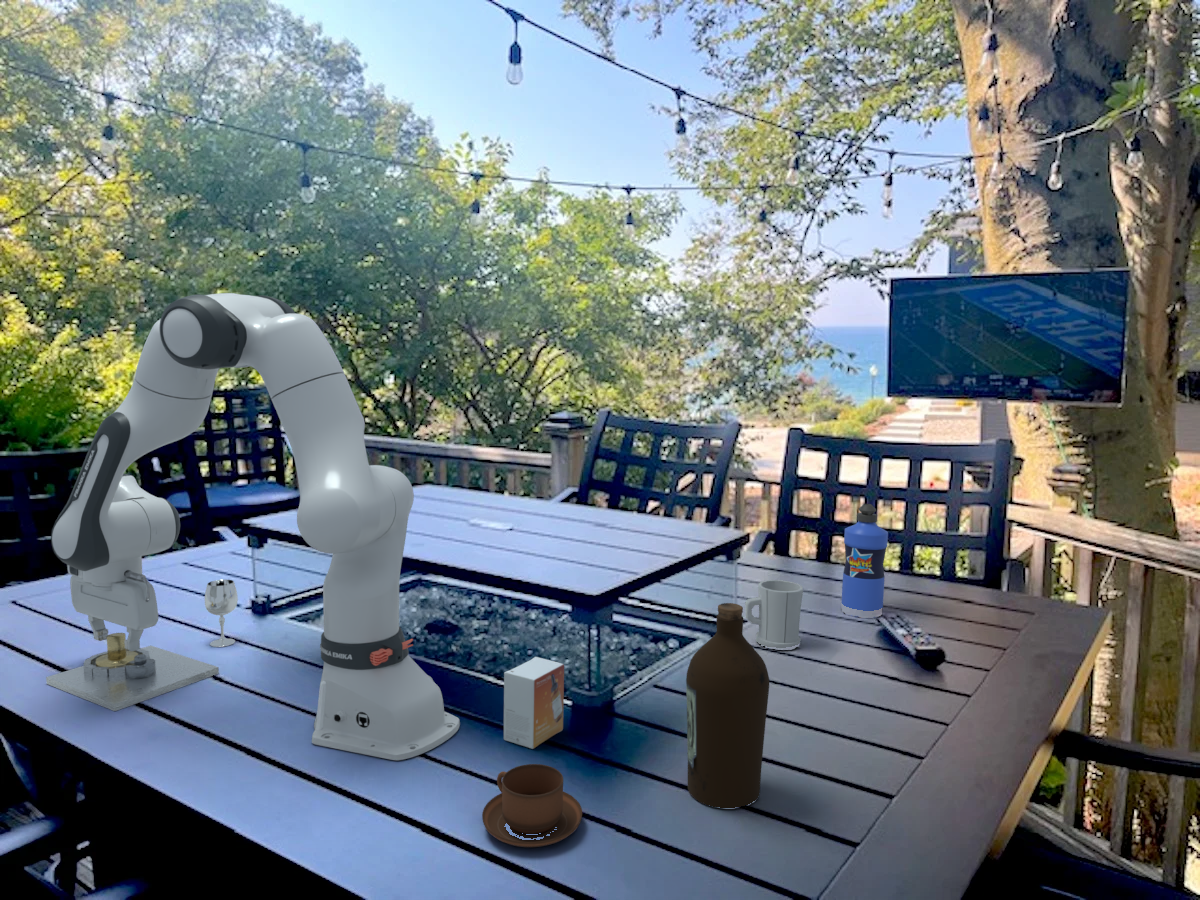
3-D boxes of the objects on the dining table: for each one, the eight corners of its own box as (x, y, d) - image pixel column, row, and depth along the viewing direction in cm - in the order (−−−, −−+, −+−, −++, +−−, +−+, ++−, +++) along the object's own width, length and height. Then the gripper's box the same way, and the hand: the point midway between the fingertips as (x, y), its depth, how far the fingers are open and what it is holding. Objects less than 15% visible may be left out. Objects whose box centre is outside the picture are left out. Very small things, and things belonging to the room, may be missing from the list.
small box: (532, 750, 116) (533, 680, 114) (502, 740, 119) (502, 671, 117) (564, 729, 122) (565, 663, 121) (534, 720, 125) (535, 655, 124)
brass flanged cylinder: (146, 663, 142) (145, 633, 141) (110, 676, 136) (109, 644, 136) (123, 657, 145) (122, 627, 144) (87, 668, 139) (86, 637, 138)
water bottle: (848, 603, 190) (853, 499, 187) (888, 611, 185) (894, 504, 182) (834, 613, 183) (840, 504, 180) (875, 621, 177) (882, 509, 174)
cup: (777, 656, 155) (780, 596, 153) (740, 643, 161) (742, 585, 160) (809, 645, 161) (812, 587, 160) (772, 633, 168) (774, 577, 167)
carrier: (218, 673, 141) (218, 649, 141) (114, 711, 126) (113, 684, 125) (150, 651, 151) (149, 628, 150) (46, 683, 135) (45, 658, 135)
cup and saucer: (463, 843, 93) (463, 793, 93) (510, 792, 105) (511, 747, 104) (557, 868, 89) (558, 816, 89) (596, 812, 100) (597, 765, 100)
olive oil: (763, 774, 110) (771, 597, 107) (765, 817, 100) (774, 622, 97) (685, 766, 112) (691, 592, 109) (679, 808, 101) (686, 616, 99)
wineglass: (226, 649, 153) (224, 587, 151) (199, 646, 154) (197, 585, 153) (245, 639, 158) (243, 579, 157) (219, 636, 159) (217, 577, 158)
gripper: (166, 571, 136) (170, 650, 138) (98, 555, 146) (102, 629, 148) (129, 580, 131) (133, 662, 132) (61, 562, 141) (65, 639, 142)
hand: (116, 644), depth 140 cm, fingers open, 8 cm apart
